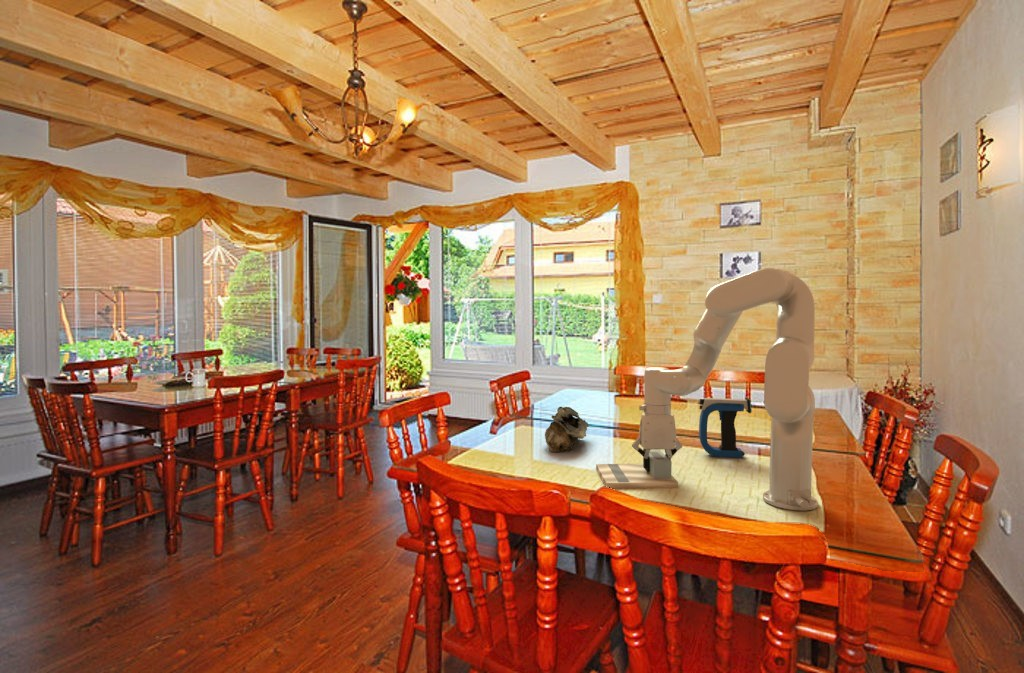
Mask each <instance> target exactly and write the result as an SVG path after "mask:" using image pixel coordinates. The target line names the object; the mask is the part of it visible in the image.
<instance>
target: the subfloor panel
mask: <svg viewBox="0 0 1024 673" xmlns="http://www.w3.org/2000/svg"><path fill="white" fill-rule="evenodd" d="M595 469H596V471H597V474H598V475H599V476H600V479H601V482H603V484H604V486H607V487H610V488H609V489H645V488H646V489H652V488H653V489H657V488H658V489H659V488H661V489H662V488H663V489H667V488H669V489H670V488H673V489H674V488H675V489H676V488H677V489H678V488H679V482H678V480H677V479H676V477H674V476H673V474H671V479H653V477H652V476H651V475H650V474H649V473H648V472H647V471H646V470H645V468H644V467H643V463H596V464H595Z"/></svg>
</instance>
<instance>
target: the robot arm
mask: <svg viewBox="0 0 1024 673" xmlns="http://www.w3.org/2000/svg"><path fill="white" fill-rule="evenodd" d="M769 303H773V304H775V306H776V307H777V308H776V309H777V314H776V315H777V316H776V334H775V335H776V336H775V342H774V343H773V344H772V345H771V346H770V347H769V349H768V350H767V353H766V356H765V364H764V388H763V389H764V390H763V404H764V408H765V411H766V413H767V414H768V415H769V417H770V418H771V423H770V424H771V425H770V441H769V442H770V447H769V448H770V452H769V489H768V490H766V491H764V492H763V493H762V499H763V501H764V502H765V503H767V504H769V505H771V506H773V507H777V508H779V509H784V510H789V511H801V512H802V511H811V510H815V509H817V508H818V507H819V501H818V500H817V498H816V497H814V496H812V479H813V478H812V476H813V475H812V472H813V471H812V470H813V467H812V466H813V441H814V440H813V439H814V436H813V435H814V419H815V411H816V410H815V408H816V398H815V394H814V392H813V390H812V388H811V386H809V385H810V384H809V380H810V379H809V378H810V369H811V368H812V366H813V364H814V362H815V319H816V317H815V313H816V312H815V308H816V307H815V300H814V296H813V293H812V291H811V288H810V287H809V286H808V285H807V283H806V282H805V281H803V280H802V278H800V277H798V276H796V275H795V274H793V273H791V272H788V271H786V270H783V269H778V268H774V267H764V268H760V269H757V270H754V271H751V272H749V273H747V274H743V275H741V276H738V277H736V278H733V279H730V280H727V281H724V282H721V283H718V284H717V285H714V286H712V287H711V288H710V289H709V290H708V292H707V293H706V296H705V298H704V304H705V305H704V306H705V308H706V309H705V311H704V312H703V315H702V316H701V317H700V319H699V322H698V324H696V326H695V328H694V330H693V335H692V336H693V341H694V342H693V343H694V344H693V348H692V351H691V353H690V355H689V357H688V359H687V360H686V362H685V364H684V366H683V367H681V368H677V369H669V368H668V367H664V366H663V367H662V366H651V367H647V368H645V370H644V385H643V386H644V388H643V390H644V392H643V393H644V394H643V404H642V405H638V406H639V407H638V410H639V411H642V414H641V417H640V423H639V430H638V431H639V432H638V437H637V438H636V439H635V441H634V442H632V444H631V447H632V448H633V449H634V450H635V451H636V452H638V453H639V454H640V455H641V456H642V457H643V458H642V459H643V460H642V461H643V463H642V464H643V467H644V468H645V470H646V471H647V472H650V459H649V453H650V450H660V451H661V450H663V451H664V455H665V456H666V457H667V458H668V459H670V460H671V461H672V458H673V456H675V455H676V454H677V452H678V451H679V450H681V449H682V448H683V444H682V443H681V441H680V440H679V439H678V438H677V429H676V428H677V426H676V421H675V416H674V414H672V413H671V410H672V406H671V405H672V403H671V402H672V396H677V397H685V396H688V395H690V394H692V393H694V392H697V391H698V390H700V389H701V388H702V386H704V384H705V383H706V381H707V380H708V377H709V376H710V374H711V372H712V371H713V369H714V368H715V365H716V363H717V361H718V358H719V357H720V354H721V352H722V349H723V346H724V344H725V343H726V341H727V339H728V338H729V336H730V334H731V332H732V331H733V330H734V327H735V326H736V324H737V322H738V320H739V319H740V318H741V316H742V314H743V312H745V311H747V310H750V309H753V308H757V307H759V306H762V305H766V304H769ZM639 445H640V446H641V447H642V448H643V449H642V448H641V447H640V446H639Z"/></svg>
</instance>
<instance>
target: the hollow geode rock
mask: <svg viewBox="0 0 1024 673" xmlns="http://www.w3.org/2000/svg"><path fill="white" fill-rule="evenodd" d="M551 419H552V420H553V421H551V423H550V425H549V426H548V427H547V428H546V429H545V431H544V439H545V443H546V445H547V447H548V448H549V451H550V452H552V453H558V452H559V453H560V452H563V451H566V452H571V450H572V448H573V445H574V444H575V442H577V441H578V440H579V439H582V440H583V439H585V437H587V430H588V428H589V427H590V424H589V423H588V422H587V421H586V419H582V418H581V416H580V415H579V413H578V411H576V410H574V409H573V408H572V407H570V406H559V407H558V408H557V411H556V413H555V415H552V414H551Z"/></svg>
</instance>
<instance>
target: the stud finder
mask: <svg viewBox="0 0 1024 673" xmlns="http://www.w3.org/2000/svg"><path fill="white" fill-rule="evenodd" d="M649 459H650V472H648V473H649V474H650V475H651V476H652V477H653V479H671V475H672V468H673V467H672V459H671V460H670V459H668V458H667V457H666V456H665V453H664V452H663V451H661V449H660V450H650V453H649Z"/></svg>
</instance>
